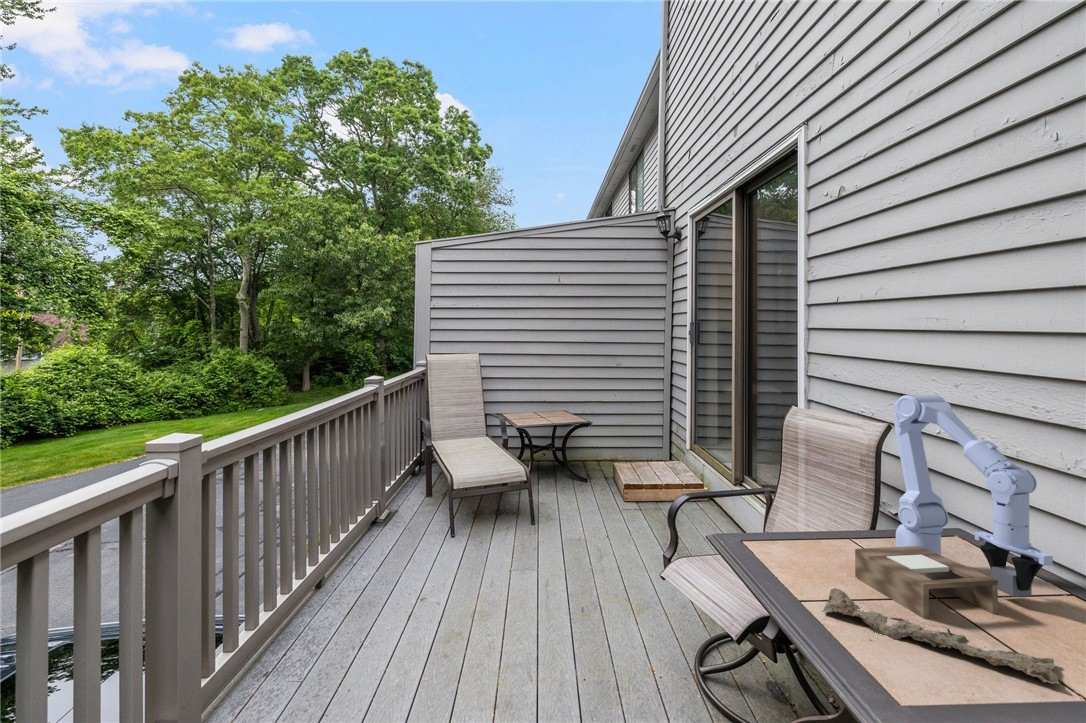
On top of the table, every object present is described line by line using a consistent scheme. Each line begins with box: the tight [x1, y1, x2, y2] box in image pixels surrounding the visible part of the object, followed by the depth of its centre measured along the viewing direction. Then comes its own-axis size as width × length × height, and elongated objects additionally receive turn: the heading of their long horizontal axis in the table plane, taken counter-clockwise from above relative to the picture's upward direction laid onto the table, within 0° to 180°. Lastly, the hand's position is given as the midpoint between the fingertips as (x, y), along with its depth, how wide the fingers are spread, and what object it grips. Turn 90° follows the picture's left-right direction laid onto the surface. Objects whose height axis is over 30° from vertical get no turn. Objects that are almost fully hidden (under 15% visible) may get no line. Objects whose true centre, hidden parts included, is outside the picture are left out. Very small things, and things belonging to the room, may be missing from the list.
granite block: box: [990, 565, 1033, 598], centre depth 107 cm, size 4×4×4 cm
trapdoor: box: [887, 555, 949, 573], centre depth 111 cm, size 7×9×1 cm
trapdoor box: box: [854, 546, 999, 619], centre depth 110 cm, size 19×17×7 cm
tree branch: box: [821, 587, 1060, 685], centre depth 93 cm, size 34×10×3 cm, turn 48°
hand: (1011, 584), depth 107 cm, fingers closed on granite block, 4 cm apart
